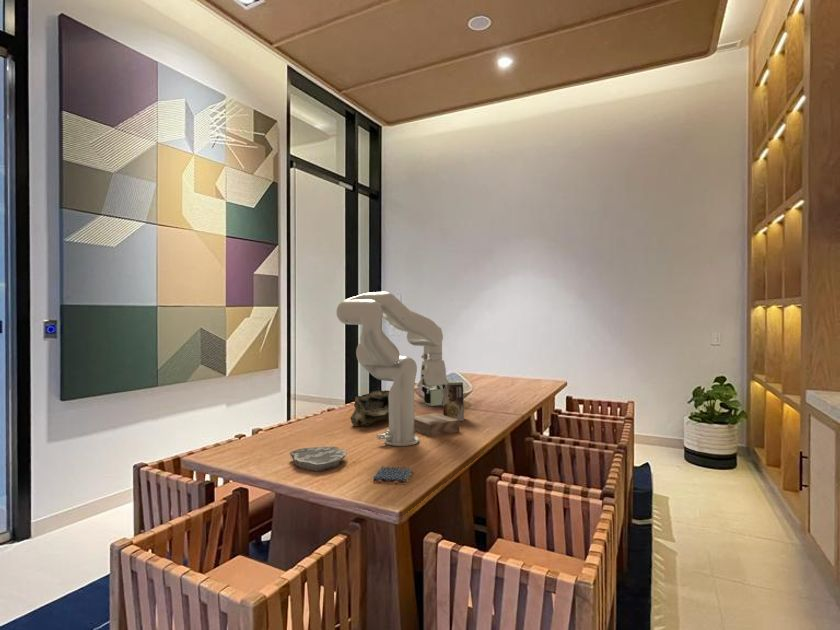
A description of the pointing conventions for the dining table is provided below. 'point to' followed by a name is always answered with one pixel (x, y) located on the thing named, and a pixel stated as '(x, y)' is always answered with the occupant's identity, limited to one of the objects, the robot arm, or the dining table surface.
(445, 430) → the block
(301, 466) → the flat grey stone slab
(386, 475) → the bristly blue-grey mat
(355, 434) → the dining table surface
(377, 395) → the hollow geode rock
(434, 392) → the sage block
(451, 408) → the coffee box
